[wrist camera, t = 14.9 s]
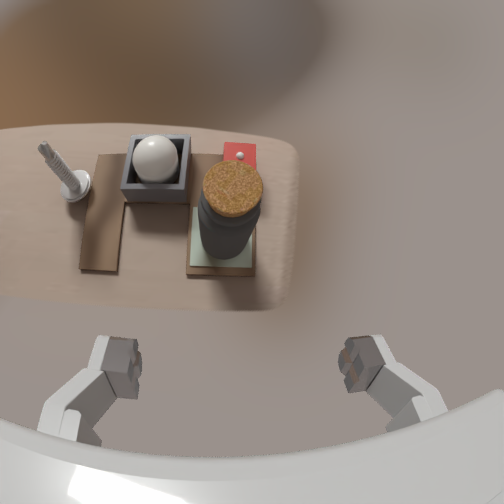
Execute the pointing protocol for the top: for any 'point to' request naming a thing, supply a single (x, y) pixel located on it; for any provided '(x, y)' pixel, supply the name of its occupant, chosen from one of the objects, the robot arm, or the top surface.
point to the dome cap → (156, 160)
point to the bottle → (229, 208)
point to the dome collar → (157, 190)
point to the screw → (66, 175)
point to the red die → (240, 153)
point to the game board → (113, 202)
